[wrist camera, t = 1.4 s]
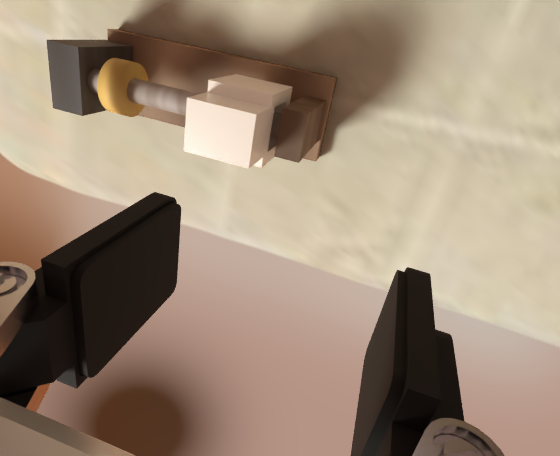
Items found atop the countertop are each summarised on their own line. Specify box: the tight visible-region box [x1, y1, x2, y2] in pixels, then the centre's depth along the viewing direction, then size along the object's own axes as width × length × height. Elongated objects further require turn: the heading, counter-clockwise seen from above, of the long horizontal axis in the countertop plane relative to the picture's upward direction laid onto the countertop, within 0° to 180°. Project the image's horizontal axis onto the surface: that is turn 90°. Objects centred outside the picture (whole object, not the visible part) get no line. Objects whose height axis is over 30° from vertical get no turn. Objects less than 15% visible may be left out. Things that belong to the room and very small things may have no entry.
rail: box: [47, 29, 337, 163], centre depth 28 cm, size 18×6×7 cm, turn 79°
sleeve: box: [184, 74, 293, 169], centre depth 25 cm, size 4×4×7 cm
